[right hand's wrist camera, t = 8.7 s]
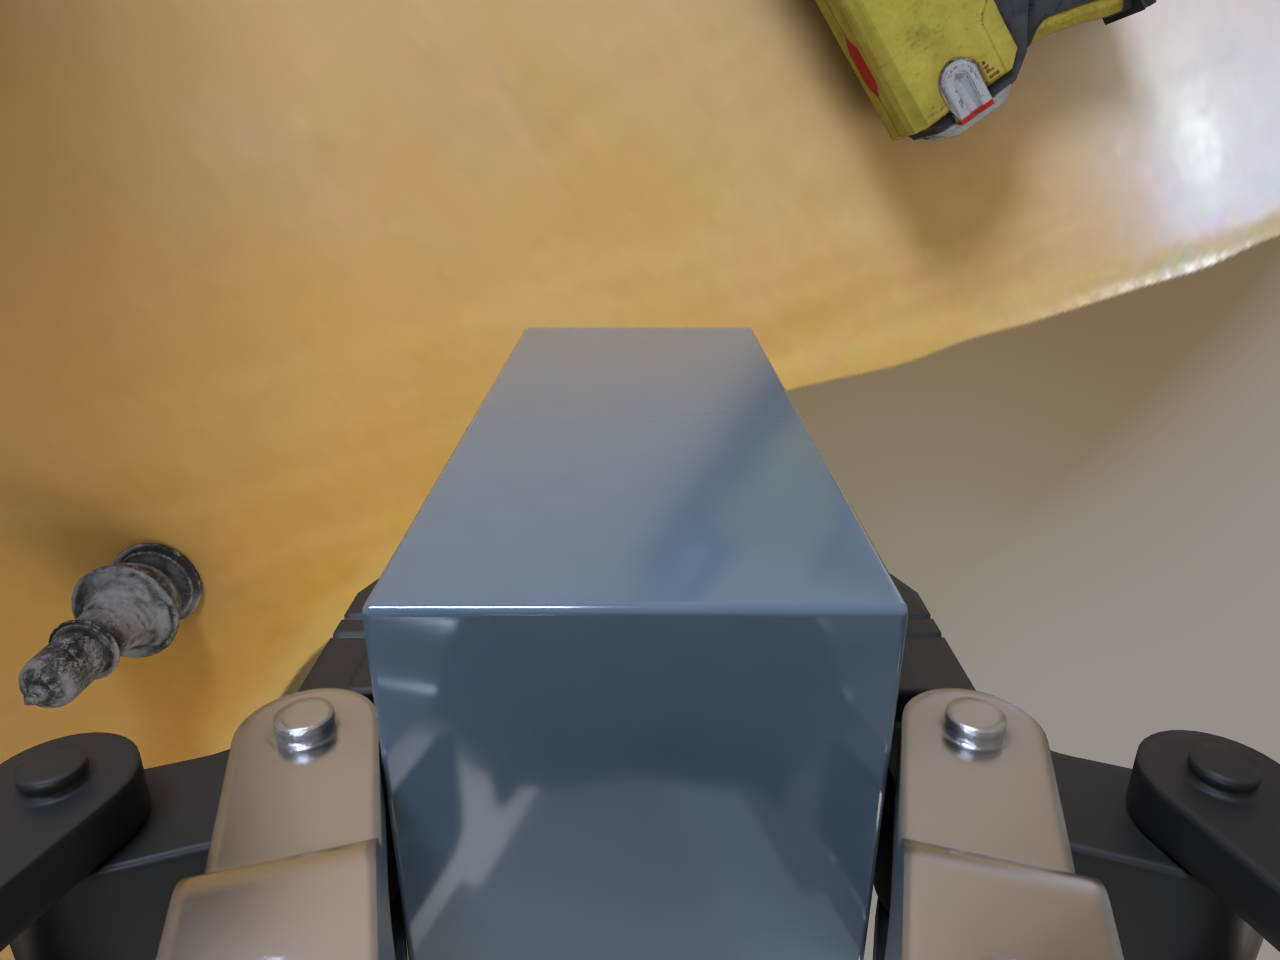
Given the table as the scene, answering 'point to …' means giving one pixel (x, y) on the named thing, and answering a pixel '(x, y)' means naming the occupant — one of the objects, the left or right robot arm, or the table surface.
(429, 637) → the block
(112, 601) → the grey tall turned piece
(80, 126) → the table surface
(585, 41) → the table surface
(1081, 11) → the toy gun
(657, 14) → the table surface
